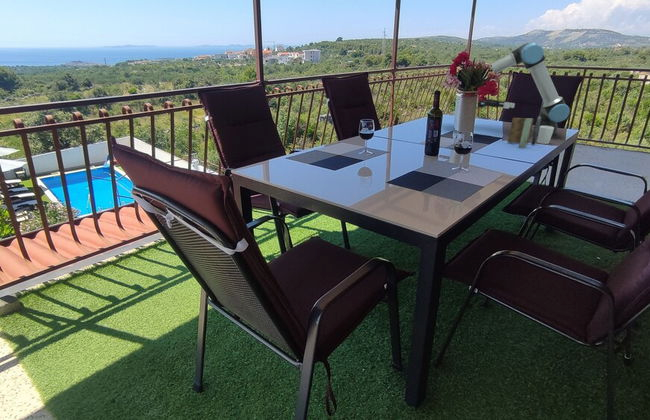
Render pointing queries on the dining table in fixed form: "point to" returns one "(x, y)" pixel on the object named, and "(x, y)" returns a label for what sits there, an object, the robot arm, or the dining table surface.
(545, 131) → the white cup
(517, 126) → the brown green flat panel
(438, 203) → the dining table surface
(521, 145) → the frame
